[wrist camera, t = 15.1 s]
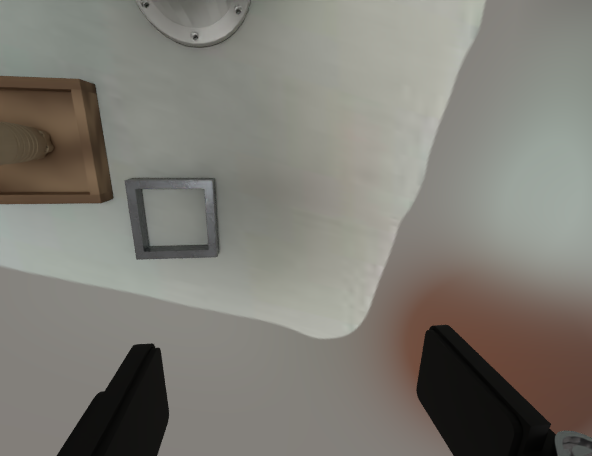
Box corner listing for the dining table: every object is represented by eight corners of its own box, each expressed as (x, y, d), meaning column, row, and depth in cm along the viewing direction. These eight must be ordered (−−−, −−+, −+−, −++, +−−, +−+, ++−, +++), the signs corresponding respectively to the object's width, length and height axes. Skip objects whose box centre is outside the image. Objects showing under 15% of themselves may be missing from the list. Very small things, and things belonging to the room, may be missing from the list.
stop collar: (131, 178, 36) (124, 180, 34) (214, 178, 37) (212, 180, 35) (142, 253, 39) (136, 259, 37) (219, 251, 40) (217, 257, 38)
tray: (-36, 79, 31) (-65, 73, 28) (94, 84, 33) (79, 79, 30) (-3, 199, 35) (-26, 204, 32) (113, 198, 37) (101, 203, 34)
